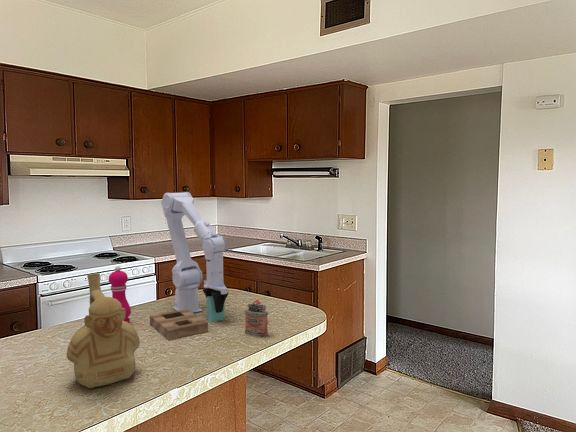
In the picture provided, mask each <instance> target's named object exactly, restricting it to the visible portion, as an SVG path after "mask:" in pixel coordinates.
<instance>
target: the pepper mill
mask: <svg viewBox="0 0 576 432" xmlns="http://www.w3.org/2000/svg"><path fill="white" fill-rule="evenodd" d="M128 279H129V277H128V274H127V272H125V271H123V270H122V269H121V266H115V268H114V271H112V272H111V273H110V274H109V276H108V283H109V284H110V291H111V292H112V294H111V295H112V298H115V299H117V300H118V301H119V302H120V303H121V305H122V308H124V309H125V310H126V315H125V319H124V320H123V321H126V322H128V323H129V324H131V322H130V321H131V320H130V316H131V313H132V308H131V306H130V303H129V301H128V300H127V296H126V290H127V283H128Z"/></svg>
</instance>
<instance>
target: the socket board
mask: <svg viewBox="0 0 576 432" xmlns="http://www.w3.org/2000/svg"><path fill="white" fill-rule="evenodd" d="M149 325H150V326H152V327H153V328H154V329H155V331H157V332H159V334H161V335H162V336H163V337H164V338H166V339H167V340H168V341H170V340H176V339H179V338H186V337H189V336H194V335H198V334H203V333H207V332H209V323H208V321H207V320H205V319H203V318H202V317H201V316H198V315H196V314H195V312H194V313H192V312H191V311H189V310H187V309H183V310H178V311H176V310H173V311H167V312H162V313H155V314H149Z"/></svg>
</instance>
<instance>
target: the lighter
mask: <svg viewBox="0 0 576 432" xmlns="http://www.w3.org/2000/svg"><path fill="white" fill-rule="evenodd" d="M266 306H267V305H266V304H265V303H261V304H258V303H257V302H255V303H253V302H248V303H247V307H248V308H246V309H244V316H245V317H244V319H245V321H244V323H245V325H244V326H245V327H244V334H245V335H248V336H252V337H257V338H267V337H268V336H269V332H268V315H269V312H268V311H266ZM262 309H265V311H263V310H262Z"/></svg>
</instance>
